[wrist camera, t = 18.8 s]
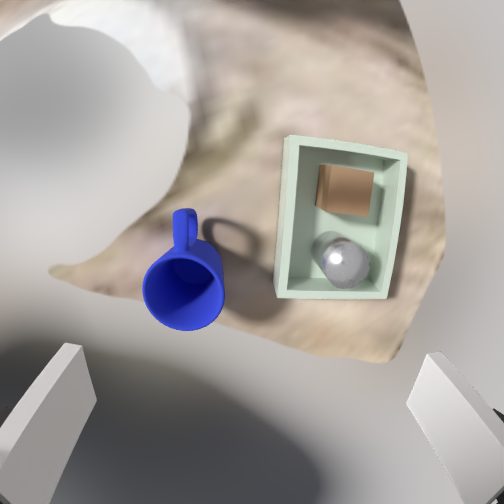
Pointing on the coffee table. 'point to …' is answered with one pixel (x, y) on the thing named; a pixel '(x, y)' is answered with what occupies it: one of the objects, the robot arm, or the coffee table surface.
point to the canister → (340, 259)
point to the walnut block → (344, 190)
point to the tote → (336, 217)
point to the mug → (185, 279)
